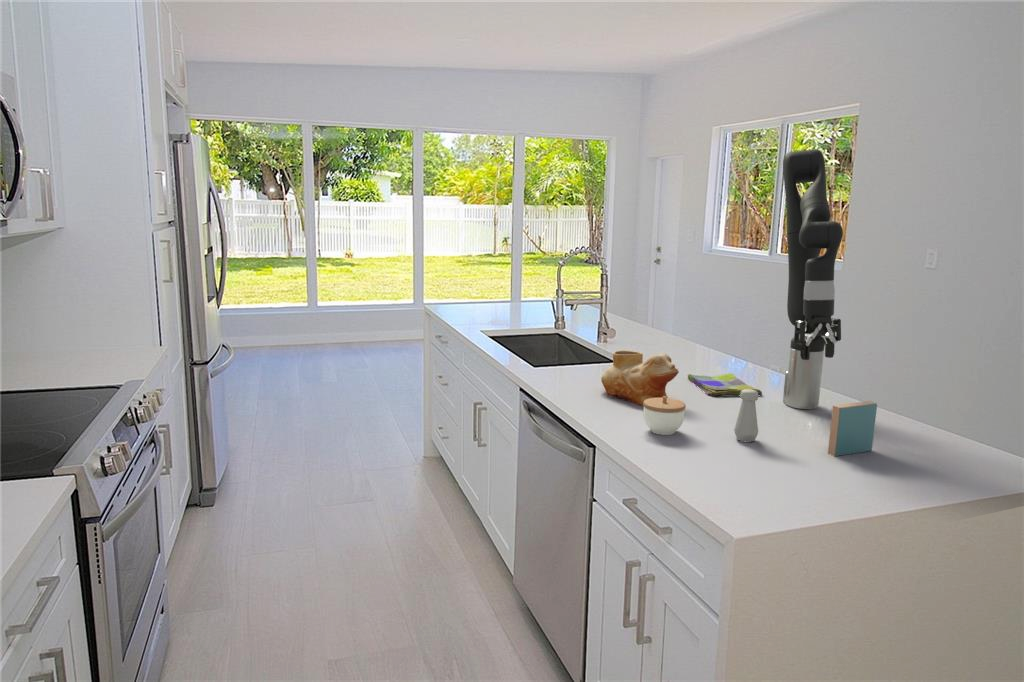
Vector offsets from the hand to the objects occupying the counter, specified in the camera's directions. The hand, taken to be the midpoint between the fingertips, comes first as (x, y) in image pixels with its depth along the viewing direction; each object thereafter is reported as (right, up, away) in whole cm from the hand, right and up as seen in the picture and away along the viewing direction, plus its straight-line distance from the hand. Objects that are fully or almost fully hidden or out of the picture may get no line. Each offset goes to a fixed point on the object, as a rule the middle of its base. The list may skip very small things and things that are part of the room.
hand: (817, 358), depth 189 cm
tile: (0, -22, -17) cm, 28 cm away
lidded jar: (-42, -19, -4) cm, 46 cm away
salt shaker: (-22, -21, -10) cm, 32 cm away
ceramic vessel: (-43, -13, +29) cm, 53 cm away
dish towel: (-12, -11, +43) cm, 46 cm away
